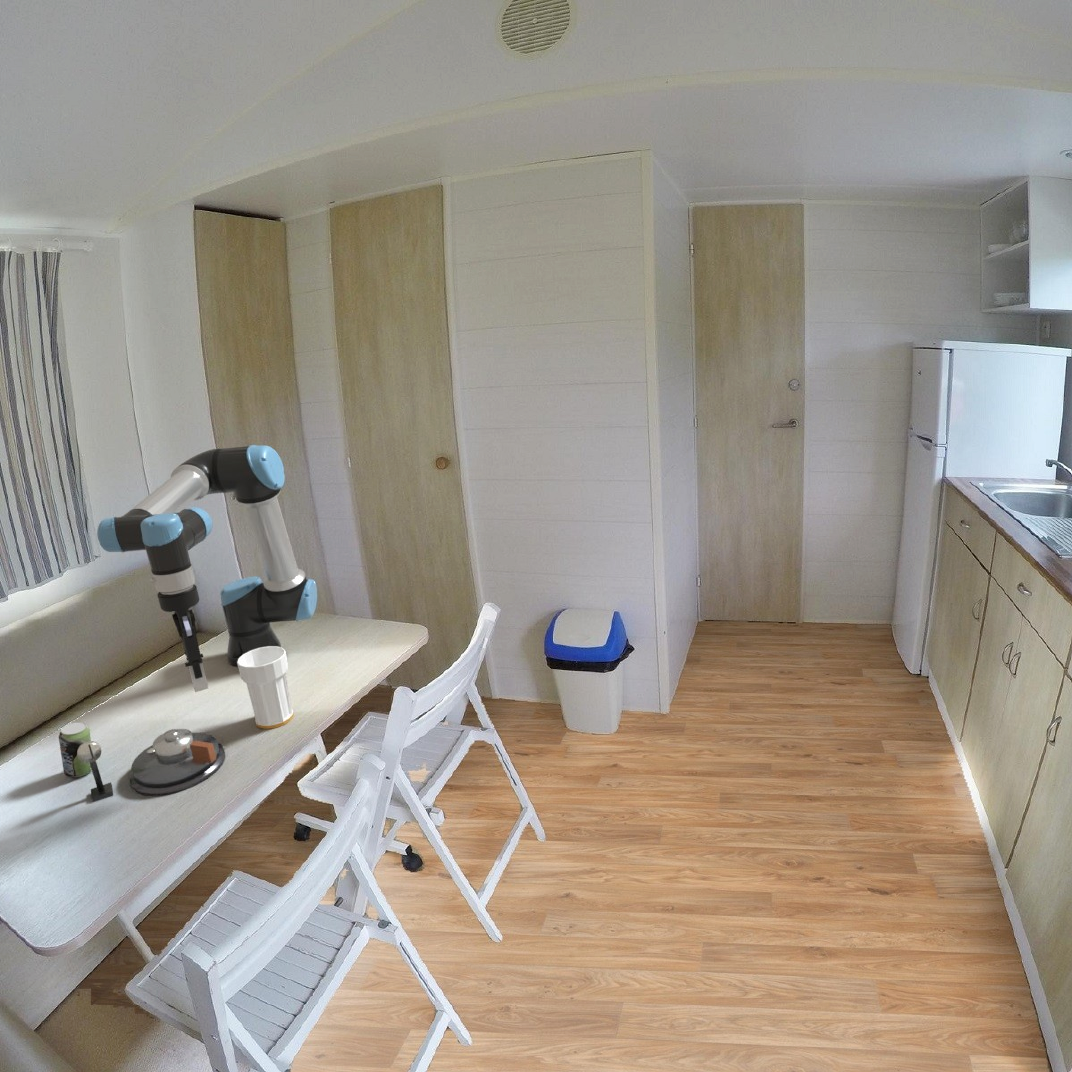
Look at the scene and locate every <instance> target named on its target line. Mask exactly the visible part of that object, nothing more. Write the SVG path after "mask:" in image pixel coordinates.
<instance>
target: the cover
mask: <svg viewBox="0 0 1072 1072" xmlns="http://www.w3.org/2000/svg"><path fill="white" fill-rule="evenodd" d="M192 733H193V732H192V731H191V730H190V729H188V728H172V729H169V730H166V731H165V732H164V733H162V734H160V735H159V736H157V737H156V738H155V739H154V740H153V743H152V745H153V747H154V751H155V754H156V758H157V761H158V762H159V763H160V764H174V763H178V762H181V761H183V760H185V759H187V758H188V757H190V756H191V755H192V752H191V748H190V744H191V743H192V742H194V741H193V737H192Z"/></svg>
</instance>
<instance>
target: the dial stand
mask: <svg viewBox="0 0 1072 1072" xmlns="http://www.w3.org/2000/svg"><path fill="white" fill-rule="evenodd" d="M101 755H102V747H101V745H100V744H99V743H98V742H96V741H92V740H91V741H89V742H85V743H83V744H82V745H81V746H80V747H79V748H78V751H77V756H78V759H79V760H80V761H81V762H83V763H90V766H91V769H92V770H91V772H92V776H93V779H94V782H95V785H96V787H93V788H91V789H90V799H91V802H92V803H95V802H97V801H100V800H104V799H106V798H109V797H112V796H114V789H113V784H112V782H111V781H110V782H108V783H103V780H102V777H101V774H100V770H99V766H98V763H97V760H99V759H100V757H101Z"/></svg>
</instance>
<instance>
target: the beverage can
mask: <svg viewBox="0 0 1072 1072" xmlns="http://www.w3.org/2000/svg"><path fill="white" fill-rule="evenodd" d="M90 731H91V730H90V728H89V727H88V726H87V724H86V723H84V722H82V721H81V722H80V721H79V722H78V721H77V722H76V721H75V722H70V723H67V724H66V725H63V726H62V727H61V729H60V732H59V734H58V741H59V749H60V755H61V761H62V762H61V763H62V768H63V773H64V775H65V776H68V777H70V778H81V777H83V776H86V775H87V774H89V773H90V772H92V769H91V766H90V763H83V762H81V761H80V760H79V759H78V756H77V751H78V748H79V747H80V746H81V745H82V744H83V743H85V742H89V741H92V739H91V738H92V737H91V732H90Z"/></svg>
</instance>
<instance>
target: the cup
mask: <svg viewBox="0 0 1072 1072" xmlns="http://www.w3.org/2000/svg"><path fill="white" fill-rule="evenodd" d="M237 665H238V666H237V668H238V671H239V675H240V676H239V677H240V679H241V680H242V682H243V683H245V684H246V686H247V691H248V694H249V698H250V702H251V706H252V710H253V714H254V717H255V719H254V720H255V721H254V722H255V725H256V727H257V728H260V729H265V730H266V729H267V730H271V729H276V728H280V727H282V726H285V725H286V724H287V723H289V722H290V721H291V720H292V719H293V718H294V710H293V708H292V703H291V698H290V692H289V685H288V679H287V673H288V669H289V664H288V659H287V652H286V649H284V648H283V647H282V646H281V647H277V646H267V647H261V648H257V649H254V650H251V651H249V652H247V653H245V654H243V655H242V656H241V657H240V658H238V661H237Z"/></svg>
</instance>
